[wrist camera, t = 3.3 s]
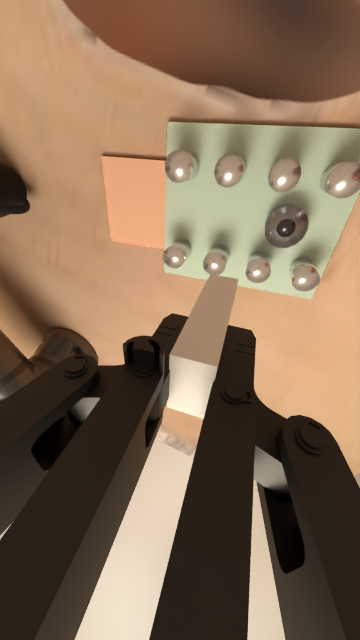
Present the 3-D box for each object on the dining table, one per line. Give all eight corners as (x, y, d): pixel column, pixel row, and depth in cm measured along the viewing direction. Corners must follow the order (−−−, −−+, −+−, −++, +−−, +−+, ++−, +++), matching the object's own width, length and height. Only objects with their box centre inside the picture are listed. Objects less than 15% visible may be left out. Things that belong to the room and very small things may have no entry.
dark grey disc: (260, 240, 32) (260, 245, 30) (270, 201, 29) (270, 204, 28) (297, 245, 31) (299, 250, 29) (311, 205, 28) (315, 208, 26)
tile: (112, 239, 40) (110, 240, 40) (103, 156, 33) (101, 156, 33) (166, 248, 38) (164, 249, 37) (168, 160, 31) (166, 160, 31)
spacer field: (165, 270, 40) (164, 272, 40) (168, 122, 29) (167, 121, 28) (310, 297, 35) (311, 299, 35) (385, 130, 24) (388, 129, 23)
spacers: (172, 257, 38) (163, 266, 34) (176, 151, 30) (165, 149, 26) (308, 280, 33) (313, 293, 30) (358, 163, 25) (373, 162, 22)
